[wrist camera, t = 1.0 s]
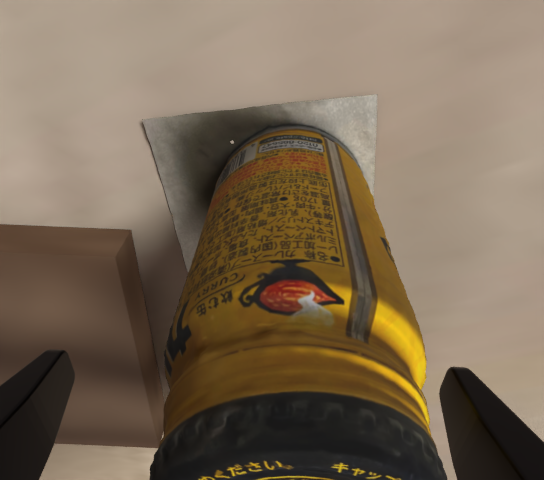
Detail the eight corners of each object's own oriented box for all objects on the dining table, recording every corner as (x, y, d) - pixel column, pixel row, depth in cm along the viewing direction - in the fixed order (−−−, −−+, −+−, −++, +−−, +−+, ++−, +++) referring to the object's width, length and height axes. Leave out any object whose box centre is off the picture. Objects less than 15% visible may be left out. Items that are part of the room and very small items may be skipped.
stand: (167, 416, 26) (158, 448, 24) (-23, 408, 26) (-44, 438, 24) (130, 229, 18) (115, 257, 16) (-141, 218, 18) (-185, 244, 16)
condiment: (371, 257, 19) (469, 599, 9) (188, 270, 19) (83, 598, 9) (376, 92, 14) (572, 375, 5) (144, 116, 15) (-126, 405, 5)
